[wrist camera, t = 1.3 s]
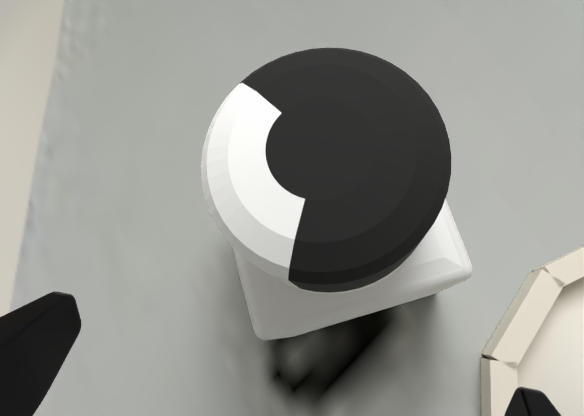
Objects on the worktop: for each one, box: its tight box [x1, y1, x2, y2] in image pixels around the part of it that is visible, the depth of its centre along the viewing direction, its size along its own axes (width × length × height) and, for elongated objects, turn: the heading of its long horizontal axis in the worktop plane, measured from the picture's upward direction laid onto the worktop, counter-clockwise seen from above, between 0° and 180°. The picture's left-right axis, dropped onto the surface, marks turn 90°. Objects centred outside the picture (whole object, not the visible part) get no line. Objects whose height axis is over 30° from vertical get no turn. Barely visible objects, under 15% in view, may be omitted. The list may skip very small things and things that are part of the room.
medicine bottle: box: [201, 48, 473, 340], centre depth 16 cm, size 7×7×12 cm
